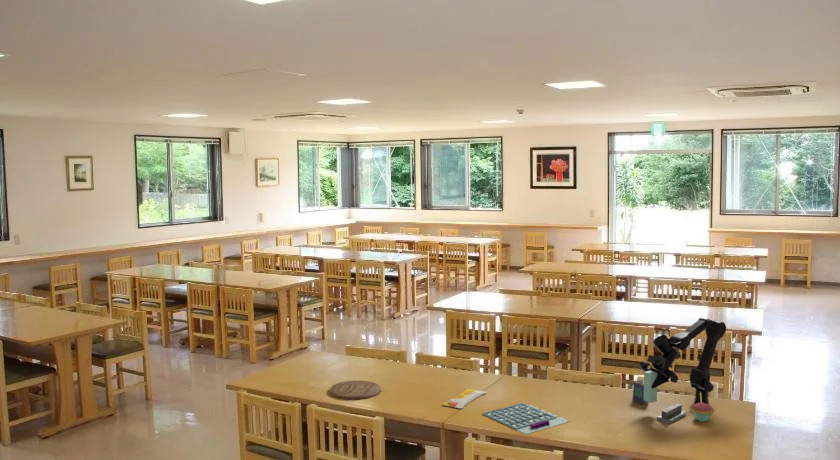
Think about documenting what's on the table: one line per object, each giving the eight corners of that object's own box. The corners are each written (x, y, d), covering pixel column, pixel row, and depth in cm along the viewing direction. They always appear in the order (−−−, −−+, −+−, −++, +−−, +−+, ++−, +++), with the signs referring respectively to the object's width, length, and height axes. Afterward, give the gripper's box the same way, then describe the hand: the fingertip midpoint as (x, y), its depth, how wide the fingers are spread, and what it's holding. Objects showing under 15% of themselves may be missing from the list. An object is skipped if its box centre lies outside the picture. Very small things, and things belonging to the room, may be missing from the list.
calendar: (527, 404, 330) (527, 399, 329) (571, 422, 306) (571, 417, 306) (482, 416, 314) (482, 411, 314) (525, 435, 291) (525, 430, 291)
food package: (468, 386, 349) (487, 389, 344) (468, 390, 349) (486, 394, 344) (441, 402, 326) (460, 406, 320) (441, 406, 326) (460, 411, 321)
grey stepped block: (673, 411, 318) (673, 402, 317) (685, 415, 313) (686, 405, 313) (656, 420, 307) (657, 410, 307) (669, 423, 303) (670, 413, 303)
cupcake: (687, 417, 311) (688, 390, 310) (703, 414, 314) (704, 388, 313) (701, 423, 303) (702, 396, 302) (717, 421, 306) (718, 394, 305)
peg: (650, 398, 318) (650, 370, 317) (656, 401, 315) (657, 372, 313) (643, 400, 316) (644, 371, 315) (650, 402, 313) (651, 374, 312)
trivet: (384, 384, 358) (384, 381, 358) (376, 401, 333) (376, 397, 333) (335, 383, 360) (335, 379, 360) (324, 399, 335) (324, 395, 335)
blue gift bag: (649, 404, 328) (650, 381, 327) (644, 405, 327) (645, 382, 326) (635, 398, 336) (636, 376, 335) (630, 399, 335) (631, 377, 334)
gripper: (642, 343, 323) (623, 370, 319) (674, 353, 307) (655, 381, 303) (654, 358, 328) (636, 385, 324) (686, 368, 311) (667, 396, 307)
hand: (648, 386), depth 314 cm, fingers closed on peg, 4 cm apart
